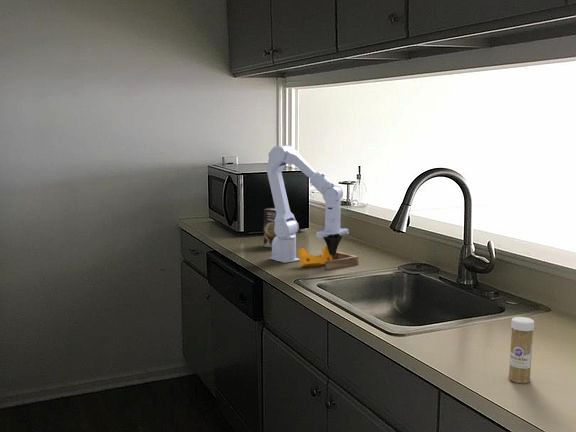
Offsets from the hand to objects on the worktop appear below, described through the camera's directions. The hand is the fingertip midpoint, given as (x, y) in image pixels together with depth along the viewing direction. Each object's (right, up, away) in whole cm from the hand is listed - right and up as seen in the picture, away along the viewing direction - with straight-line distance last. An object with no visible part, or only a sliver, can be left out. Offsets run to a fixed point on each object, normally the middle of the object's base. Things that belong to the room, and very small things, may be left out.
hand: (332, 254), depth 252 cm
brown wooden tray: (+1, -4, +2) cm, 4 cm away
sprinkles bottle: (+33, -21, -108) cm, 115 cm away
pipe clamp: (-5, -4, -3) cm, 7 cm away
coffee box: (-22, +1, +35) cm, 41 cm away
